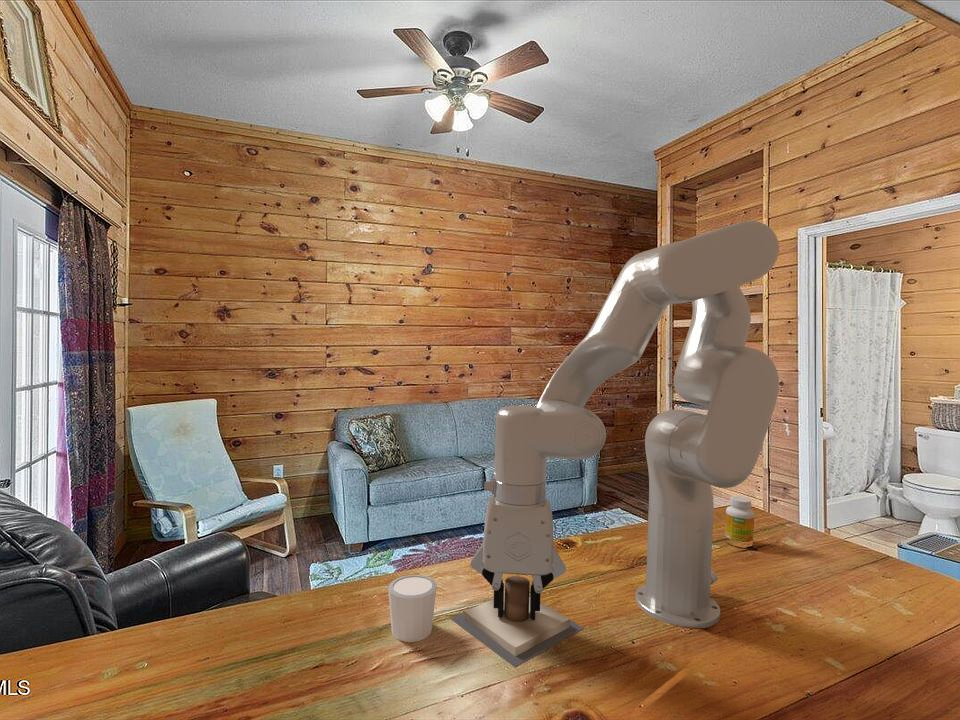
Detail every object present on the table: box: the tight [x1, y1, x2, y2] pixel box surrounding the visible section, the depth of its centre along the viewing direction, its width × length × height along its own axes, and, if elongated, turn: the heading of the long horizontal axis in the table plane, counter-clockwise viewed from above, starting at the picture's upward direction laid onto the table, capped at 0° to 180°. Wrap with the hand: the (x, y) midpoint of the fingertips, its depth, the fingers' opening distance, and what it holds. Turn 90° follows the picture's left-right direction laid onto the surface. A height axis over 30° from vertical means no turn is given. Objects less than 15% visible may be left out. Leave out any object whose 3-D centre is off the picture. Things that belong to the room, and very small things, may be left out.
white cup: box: [387, 574, 437, 643], centre depth 71 cm, size 7×7×7 cm
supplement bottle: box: [724, 495, 755, 542], centre depth 105 cm, size 5×5×10 cm
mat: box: [449, 612, 585, 668], centre depth 73 cm, size 14×14×1 cm
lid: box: [463, 575, 571, 656], centre depth 73 cm, size 11×11×6 cm
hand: (516, 612), depth 73 cm, fingers open, 4 cm apart
